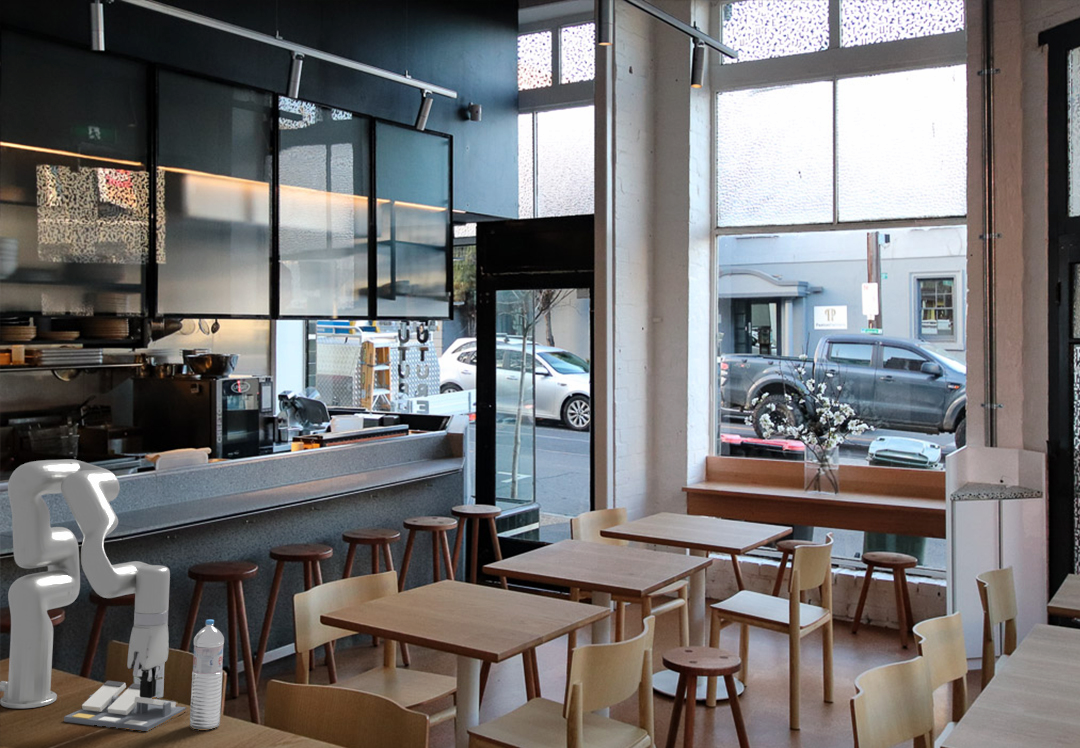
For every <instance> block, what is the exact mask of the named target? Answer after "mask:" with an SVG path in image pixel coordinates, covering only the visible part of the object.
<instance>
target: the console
mask: <svg viewBox="0 0 1080 748" xmlns="http://www.w3.org/2000/svg"><path fill="white" fill-rule="evenodd" d="M93 694H94V693H93ZM93 694H90V695H88V699H89V698H90V697H91V696H92V695H93ZM120 696H121V695H118V696H116V697H114V698H112V699H111V702H110V703H109V704H108V705H107V706H106V707H105V708H104V709H103V710H102V711H101V712H99V711H91V710H83V708H81V709H78V710H77V711H74V712H72V713H71V712H70V714H67V715H64V718H63V719H64V720H63V721H64V722H65V723H72V724H73V723H74V724H80V725H86V726H87V725H88V726H94V725H97V726H96V727H102V726H106V727H105V728H110V727H116V728H115V729H118V728H129V729H135V730H142V731H148V730H149V729H151V728H154V727H155V726H157V725H159V724H161V723H163V722H165V721H166V720H168V719H170V718H171V717H172V716H174V715H176V714H178V713H180V712H182V711H183V710H185V709H186V710H187V707H186V706H175V707H171V702H168V703H166V704H164V705H163V706H158V705H151V704H145V703H138V702H137V705H136V706H135V707H134V708H133V709H132V710H131V711H130V712H129V713H128V714H127V715H123V714H115V713H108V707H109V706H110V705H112V704H113V703H114V702H115V701H116V700H117V699H118V698H119V697H120ZM154 729H155V728H154ZM148 732H149V731H148Z"/></svg>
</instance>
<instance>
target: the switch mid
mask: <svg viewBox="0 0 1080 748" xmlns="http://www.w3.org/2000/svg"><path fill="white" fill-rule="evenodd" d="M119 696H120V697H119V698H118V699H117V700H116V701H115V702H114V703H113V704H112V705H110V706H109V707H108V713H115V714H123V715H127V714H128V713H129V712H130V711H131V710H132V709H133V708H134V707H135V706H136V705H137V702H134V700H135V697H140V684H133V683H132V684H131V685H129V687H127V689H125V690H124V691H123V693H121V694H120V695H119ZM143 698H144V697H143Z"/></svg>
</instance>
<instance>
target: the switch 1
mask: <svg viewBox="0 0 1080 748" xmlns="http://www.w3.org/2000/svg"><path fill="white" fill-rule="evenodd" d="M126 688H127V685H126V682H124V681H115V680H107V681H106V682H104V683H103V685H102V686H101V687H99V688H98V690H96V691H95V692H94V693H93V695H92V694H91V695H92V696H91V697H90V698H89V697H88V699H87V700H86V701H84V702H83V703H82V705H81V707H82V708H81V709H83V710H91V711H99V712H101V711H102V710H103V709H104V708H105V707H106V706H107V705H108V704H109V703H110V702H111V699H112V698H114V697H116V696H120V695H121V694H122V692H124V691H125V690H126Z"/></svg>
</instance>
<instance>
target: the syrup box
mask: <svg viewBox="0 0 1080 748" xmlns="http://www.w3.org/2000/svg"><path fill="white" fill-rule="evenodd" d="M164 679H165V665H164V666H163V667H162V668H160V670H159V672H158V678H157V679H156V695H155V696H154V697H157V698H156V699H160V698H164V685H165V684H164V683H165V680H164ZM132 684H140V680H139V677H138V676H133V683H132Z"/></svg>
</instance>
